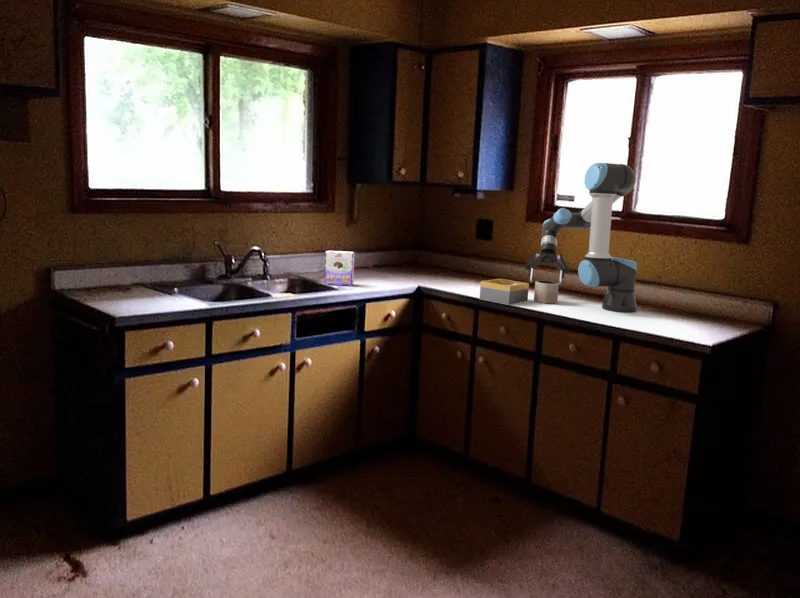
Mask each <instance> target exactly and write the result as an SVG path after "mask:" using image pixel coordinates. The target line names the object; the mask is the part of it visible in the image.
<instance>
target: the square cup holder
mask: <svg viewBox="0 0 800 598" xmlns="http://www.w3.org/2000/svg"><path fill="white" fill-rule="evenodd" d="M529 287H530V282H529V283H528V282H525V281H524V282H523V281H522V282H521V281H516V280H511V279H505V278H496V279H495V278H494V279H489V280H481V281H480V289H479V301H480V300H481V301H486V302H491V303H496V304H497V303H498V304H502V305H506V306H509V305H515V303H516V304H520V302H521V303H525V301H527V302H528V301H529V300H528V298H529Z"/></svg>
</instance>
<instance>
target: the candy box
mask: <svg viewBox="0 0 800 598" xmlns="http://www.w3.org/2000/svg"><path fill="white" fill-rule="evenodd" d="M324 253H325V254H324V282H323V283H324V284H323V285H326V286H327V285H329V286H331V285H332V286H343V287H345V286H346V287H352V286H353V285H354V277H355V251H346V250H345V251H343V250H326V251H325V252H324Z"/></svg>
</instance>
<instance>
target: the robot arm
mask: <svg viewBox="0 0 800 598" xmlns="http://www.w3.org/2000/svg"><path fill="white" fill-rule="evenodd" d="M635 173H636V172H635V171H634V169H632V167H630V166H629V165H627V164H625V163H610V162H608V163H607V162H596V163H595V162H594V163H592V164H591V165H590V166H589V168H588V169H587V170H586V172H585V175H584V185H585V188H586V189H587V190H589V192H588V194H589V195H590V196H591V198H592V200H591V201H590V202H589V203H588V204H587V205H586V206H585V207H584V208H582V210H581V211H579V212H571V211H570V210H569V209H568V208H567V209H566V208H565V207H561V208H559V209H558V210H557V211H556V212H555V213H554V214H553V216H552V217H551V218H548V219H546V220H544V222H543V224H542V229H541V230H542V232H541V242H540V252H539V253H537V252H535V251H534V252H533V254H532V256H531V257H530V259H529V260H528V261H527V262H526V264H525V265H524V269H525V271H526V270H528V273H527V275H528V277H530V278H529V283H530V284H531V283H532V282H533V271H534V269H536V268H537V267H538V266H539V265H542V264H552V265H553V266H555V267H556V268H557V270H558V271H559V273H560V274H559V282H558V283H559V286H561V285H562V279H564V278H565V273H566V274H568V273H569V267H568V265H567V263H566V262H565V259H564V257H563V254H559V255H557V246H558V235H559V234H560V232H562V231H563V229H582V230H587V229H589V240H588V241H589V244H588V252H587V253H586V254H585V255H584V260H581V261H580V263H579V265H578V267H577V271H578V272H577V273H578V277H579V280H580V282H581V284H583V285H584V286H585V287H589V288H590V287H593V288H598V287H599V288H600V287H607V291H606V294H605V296H604V298H603V300H602V302H601V303H602V304H601V308H602V309H604V310H608V311H612V312H617V313H618V312H619V313H635V312H637V309H638V307H637V306H638V305H637V300H636V296H635V289H636V288H635V287H636V279H637V273H638V268H637V267H638V264H637V261H635V260H631V259H627V258H620V257H616V256H615V257H614V256H613V257H612V256H611V254H610V252H609V251H610V240H611V239H610V238H611V237H610V236H611V226H612V212H613V204H614V203H615V202H617V201H618V200H619V199H621V197H622V198H623V197H625V196H627V195H628V194H629V193H631V191H632V190H633V189H634V187H635V185H636V180H637V179H636V178H637V177H636V174H635ZM537 258H538V259H537ZM536 259H537V260H536ZM557 259H558V261H559V262H558V261H557ZM535 260H536V261H535Z"/></svg>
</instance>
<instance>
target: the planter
mask: <svg viewBox="0 0 800 598" xmlns="http://www.w3.org/2000/svg"><path fill="white" fill-rule="evenodd" d="M559 286H560V285H559V282H557V281H554V280H544V279H542V280H541V279H538V280H535V283H534V293H533V294H534V295H533V301H534V302H535V303H537V302H538V303H537V304H542V303H545V304H544V305H554V304H557V303H558V300H559V299H558V298H559V288H560V287H559Z"/></svg>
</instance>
